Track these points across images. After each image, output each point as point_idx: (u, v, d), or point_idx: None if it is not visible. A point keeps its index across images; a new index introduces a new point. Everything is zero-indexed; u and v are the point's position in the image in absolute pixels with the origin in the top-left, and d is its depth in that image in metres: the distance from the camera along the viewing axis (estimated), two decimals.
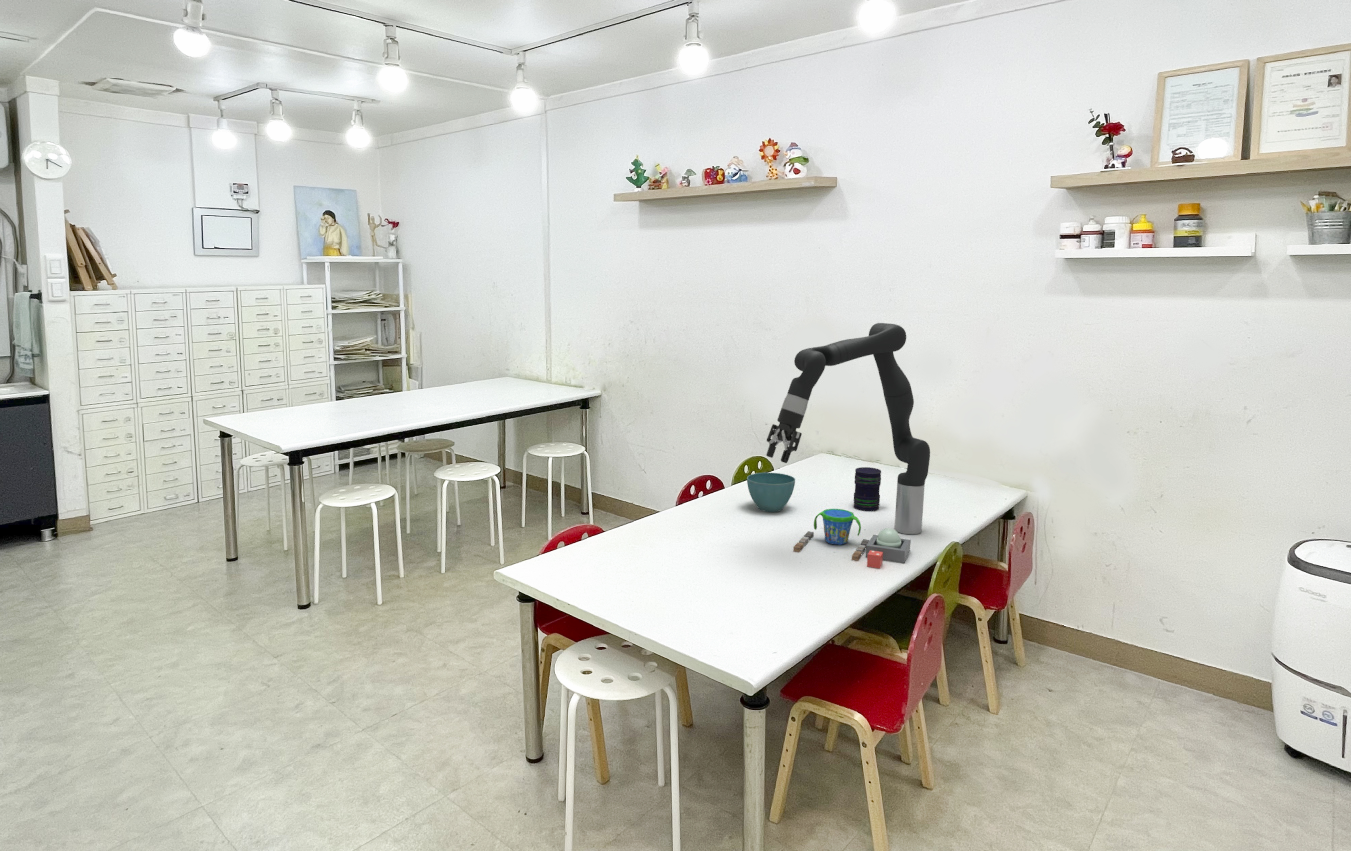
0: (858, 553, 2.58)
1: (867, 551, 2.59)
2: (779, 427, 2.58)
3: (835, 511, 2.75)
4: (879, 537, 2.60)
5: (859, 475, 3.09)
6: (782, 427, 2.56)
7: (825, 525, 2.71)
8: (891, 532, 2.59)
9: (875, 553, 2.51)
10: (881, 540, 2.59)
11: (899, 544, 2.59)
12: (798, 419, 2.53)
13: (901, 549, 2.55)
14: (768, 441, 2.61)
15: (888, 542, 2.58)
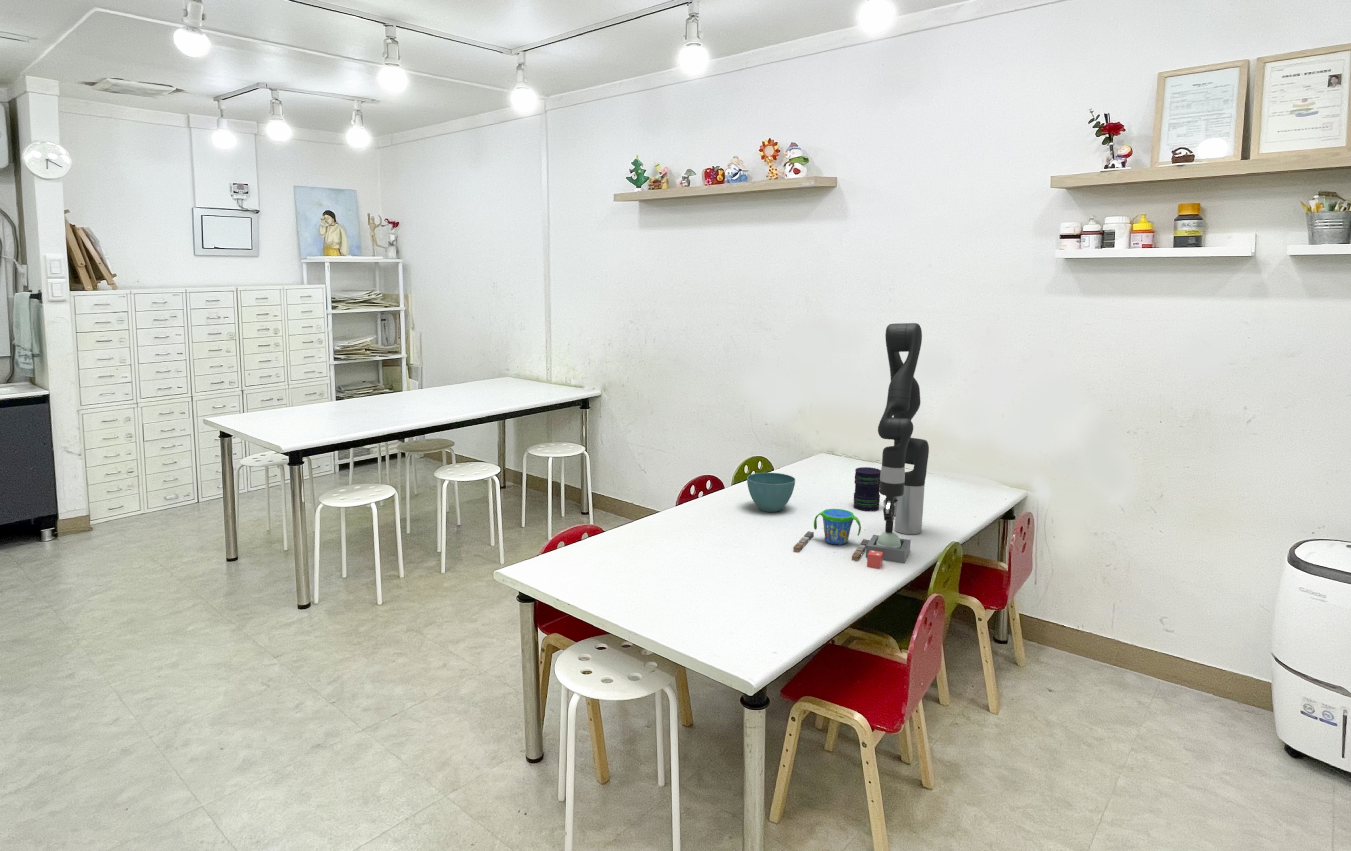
0: (858, 553, 2.58)
1: (867, 551, 2.59)
2: None
3: (835, 511, 2.75)
4: (879, 540, 2.61)
5: (859, 475, 3.09)
6: None
7: (825, 525, 2.71)
8: (891, 535, 2.59)
9: (875, 553, 2.51)
10: (881, 543, 2.59)
11: (899, 547, 2.59)
12: (891, 488, 2.55)
13: (901, 549, 2.55)
14: None
15: (888, 545, 2.58)
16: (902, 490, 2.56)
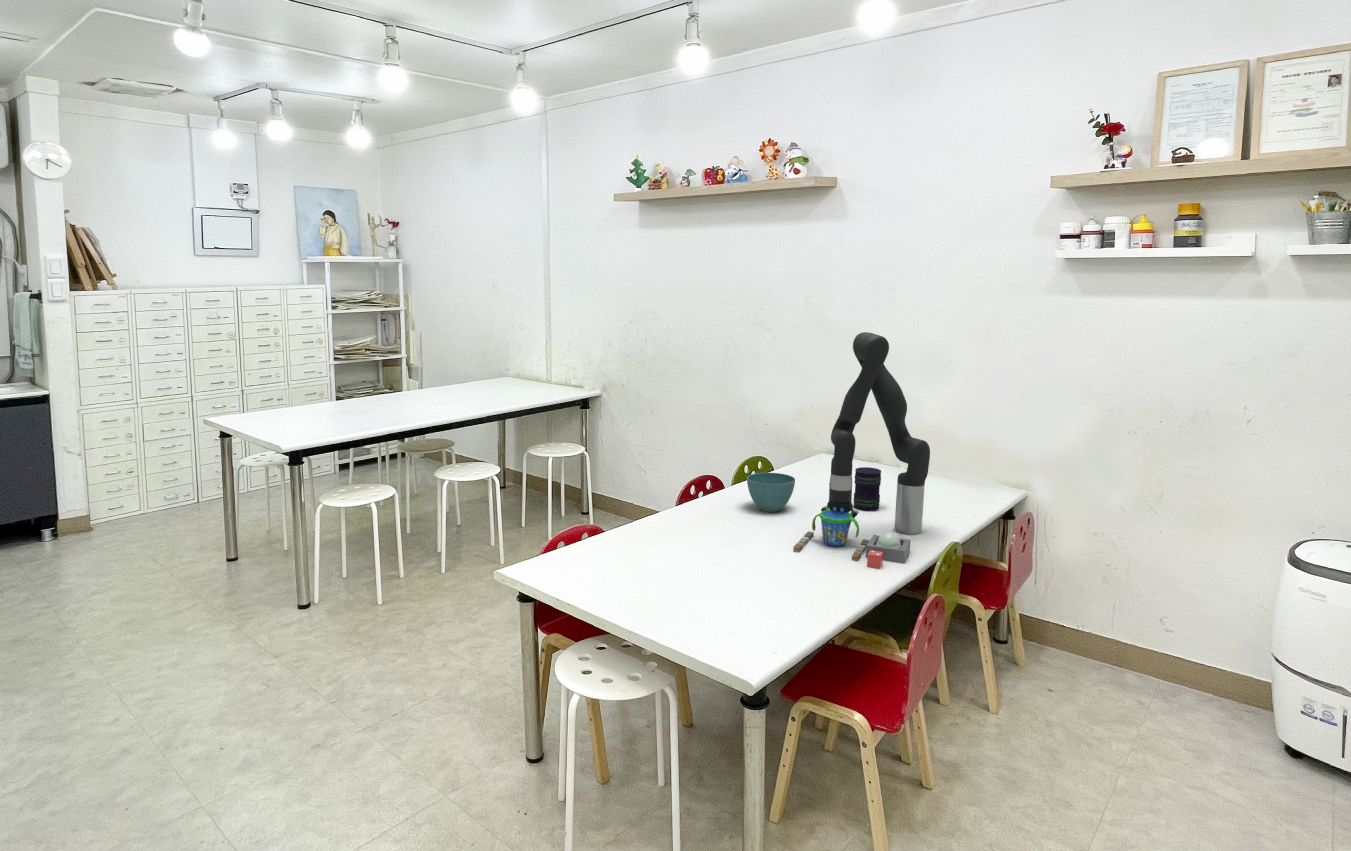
0: (858, 553, 2.58)
1: (867, 551, 2.59)
2: (831, 504, 2.75)
3: (833, 513, 2.74)
4: (879, 541, 2.61)
5: (859, 475, 3.09)
6: (836, 504, 2.74)
7: (823, 526, 2.70)
8: (891, 535, 2.59)
9: (875, 553, 2.51)
10: (881, 544, 2.60)
11: (899, 548, 2.59)
12: (851, 493, 2.73)
13: (901, 549, 2.55)
14: None
15: (888, 546, 2.58)
16: None
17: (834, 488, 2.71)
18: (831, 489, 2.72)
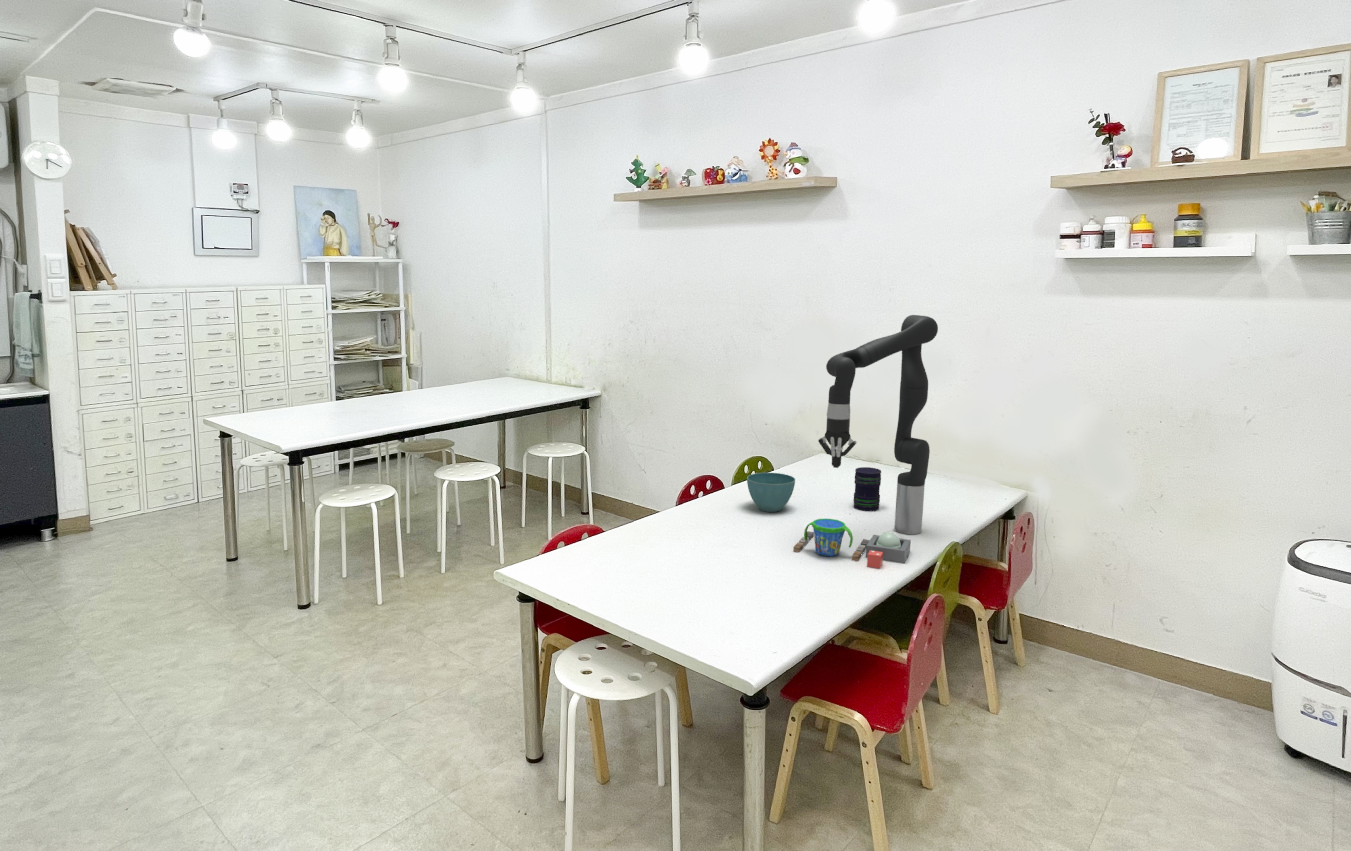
0: (858, 553, 2.58)
1: (867, 551, 2.59)
2: (829, 434, 2.71)
3: (826, 521, 2.64)
4: (879, 541, 2.61)
5: (859, 475, 3.09)
6: (834, 434, 2.70)
7: (815, 536, 2.60)
8: (891, 535, 2.59)
9: (875, 553, 2.51)
10: (881, 544, 2.60)
11: (899, 548, 2.59)
12: (849, 423, 2.69)
13: (901, 549, 2.55)
14: (830, 452, 2.72)
15: (888, 546, 2.58)
16: None
17: (832, 417, 2.67)
18: (829, 418, 2.68)
